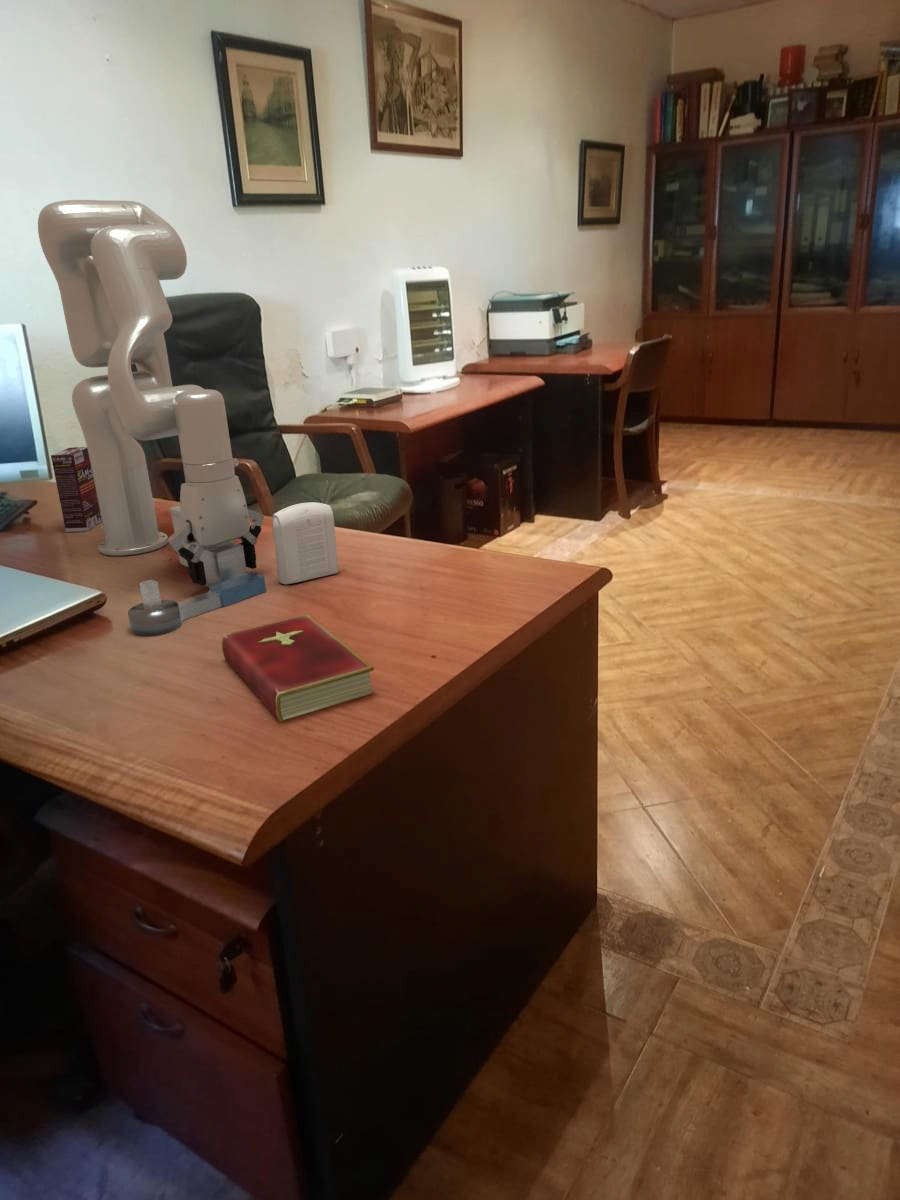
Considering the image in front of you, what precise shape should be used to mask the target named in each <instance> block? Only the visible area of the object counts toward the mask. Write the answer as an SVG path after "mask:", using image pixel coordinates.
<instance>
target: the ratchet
mask: <svg viewBox="0 0 900 1200" xmlns="http://www.w3.org/2000/svg"><path fill="white" fill-rule="evenodd" d="M139 588H140V593H141V599H142V603H138V604H136V605H134V606H132V607H130V608H129V609H128V610H127V617H128V621H129V627H130V631H131V633H132V634H133V635H135V636H138V637H151V636H161V635H164V634H168V633H170V632H173V631H175V630H177V629H178V628H180V626H181V625H182V622H183V621H185V620H186V621H187V620H189V619H191V618H193V617H196V616H199V615H202V614H204V613H208V612H210V611H214V610H215V609H219V608H221V607H227V606H230V605H232V604H235V603H238V602H242V601H244V600H247V599H250V598H252V597H255V596H258V595H260V594H264V593H266V592H267V586H266V581H265V575H263V574H259V573H255V572H249V573H247V574H246V575H243V576H240V577H237V578H234V579H231V580H228V581H225V582H222V583H219V584H216V585H213V586H210V587H208V588H209V591H207V592H204V593H201V594H199V595H195V596H193V597H190V598H186V599H184V600H181V601H178V602H177V601H175V600H172V599H171V600H170V599H161V594H160V589H159V582H158V581H156V580H153V579H147V580H144V581H141V582H139Z"/></svg>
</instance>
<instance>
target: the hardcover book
mask: <svg viewBox="0 0 900 1200" xmlns="http://www.w3.org/2000/svg"><path fill="white" fill-rule="evenodd" d="M221 650H222V655H223V657H224V659H225V661H226V662H227V663H228V664H229V666H230V667H232V670H234V671H235V672H236V673H237V674H238V676H239V677H240V678H241V679H242V680H243V682H244V683H246V685H247V686H248V687H249V689H251V691H252V692H253V693H254V694H255V695H256V696H257V697H258V698H259V700H260V701H261V702H262V703H263V704H264V706H265V707H266V708H267V709H268V710H269V712H271V713H272V715H273V716H274V717H275V718H276V720H277V721H279V723H280V724H281V723H284V722H285V720H288V719H291V718H292V719H293V718H294V717H298V716H301V715H305V714H309V713H311V712H315V711H319V710H322V709H325V708H328V707H332V706H335V705H338V704H342V703H345V702H349V701H353V700H356V699H358V698H362V697H365V696H369V695H372V692H373V691H372V683H371V672H372V671H374V669H375V668H374V666H373V665H372V664H370V663H369V662H368V661H366V660H365V659H363V657H361V656H360V655H359V654H358V653H357V652H356V651H354V650H353V649H352V648H350V647H349V646H348V645H347V644H345V643H344V642H343V641H341V640H340V639H339V638H337V636H335V635H334V634H333V633H332V632H330V631H329V630H328V629H326V628H325V627H324V626H323V625H322V624H320V623H319V622H318V621H316V620H315V619H314V618H312V617H311V616H310V615H309V614H308V613H306V614H301V615H297V616H293V617H289V618H285V619H280V620H276V621H272V622H269V623H265V624H260V625H257V626H252V627H248V628H243V629H240V630H237V631H232V632H227V633H224V634H222V636H221Z"/></svg>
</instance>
